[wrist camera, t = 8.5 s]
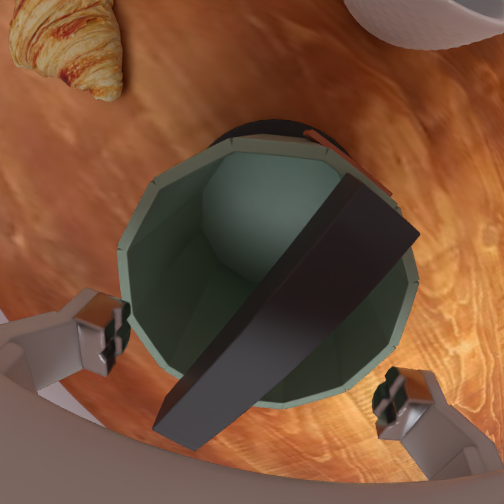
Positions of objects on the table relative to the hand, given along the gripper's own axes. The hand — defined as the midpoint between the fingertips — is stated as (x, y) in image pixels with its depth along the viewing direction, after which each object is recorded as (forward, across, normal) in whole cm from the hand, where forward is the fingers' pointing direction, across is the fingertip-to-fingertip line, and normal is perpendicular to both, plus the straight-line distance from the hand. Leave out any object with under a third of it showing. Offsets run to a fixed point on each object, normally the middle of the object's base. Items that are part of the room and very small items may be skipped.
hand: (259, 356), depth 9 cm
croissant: (+18, +22, -13) cm, 31 cm away
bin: (+16, 0, 0) cm, 17 cm away
